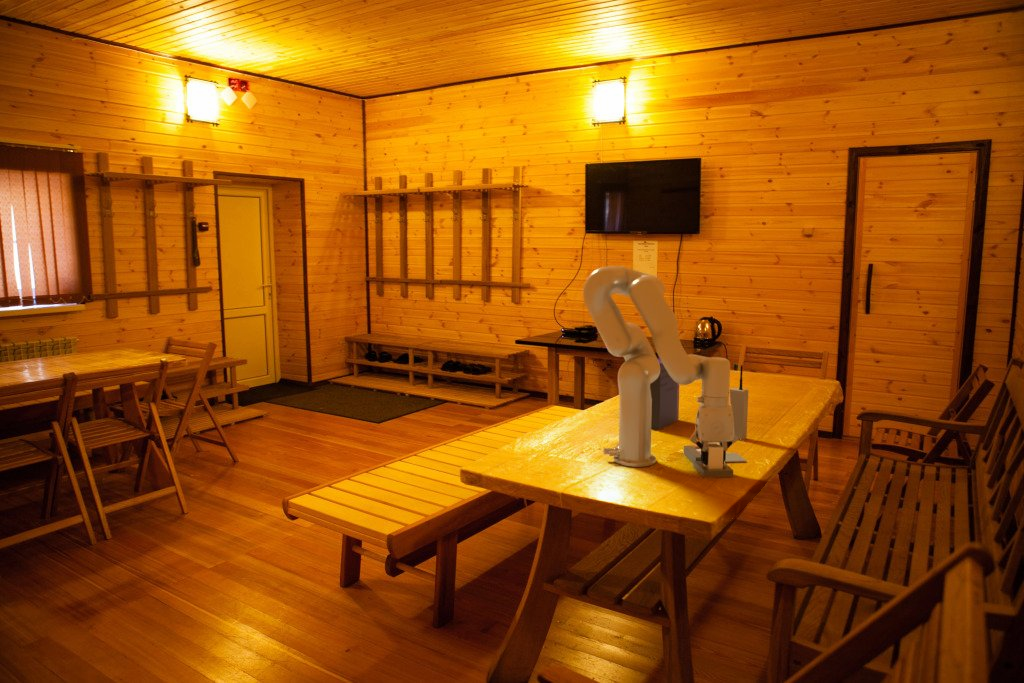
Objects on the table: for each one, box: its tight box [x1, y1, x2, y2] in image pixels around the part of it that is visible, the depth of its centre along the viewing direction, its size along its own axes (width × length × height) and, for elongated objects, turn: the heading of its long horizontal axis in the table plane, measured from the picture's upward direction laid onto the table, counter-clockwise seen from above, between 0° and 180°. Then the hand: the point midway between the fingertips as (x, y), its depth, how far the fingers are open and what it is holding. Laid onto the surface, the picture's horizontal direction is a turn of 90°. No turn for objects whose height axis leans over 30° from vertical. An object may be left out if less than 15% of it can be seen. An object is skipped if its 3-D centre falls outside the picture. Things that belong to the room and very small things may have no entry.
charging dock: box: [683, 444, 734, 478], centre depth 209 cm, size 8×21×4 cm, turn 3°
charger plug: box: [703, 442, 723, 469], centre depth 203 cm, size 4×5×8 cm
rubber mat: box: [724, 452, 747, 464], centre depth 216 cm, size 8×8×1 cm
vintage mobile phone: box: [729, 365, 749, 441], centre depth 236 cm, size 4×5×25 cm
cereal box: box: [650, 358, 680, 431], centre depth 255 cm, size 17×5×24 cm, turn 145°
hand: (713, 462), depth 203 cm, fingers closed on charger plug, 4 cm apart
